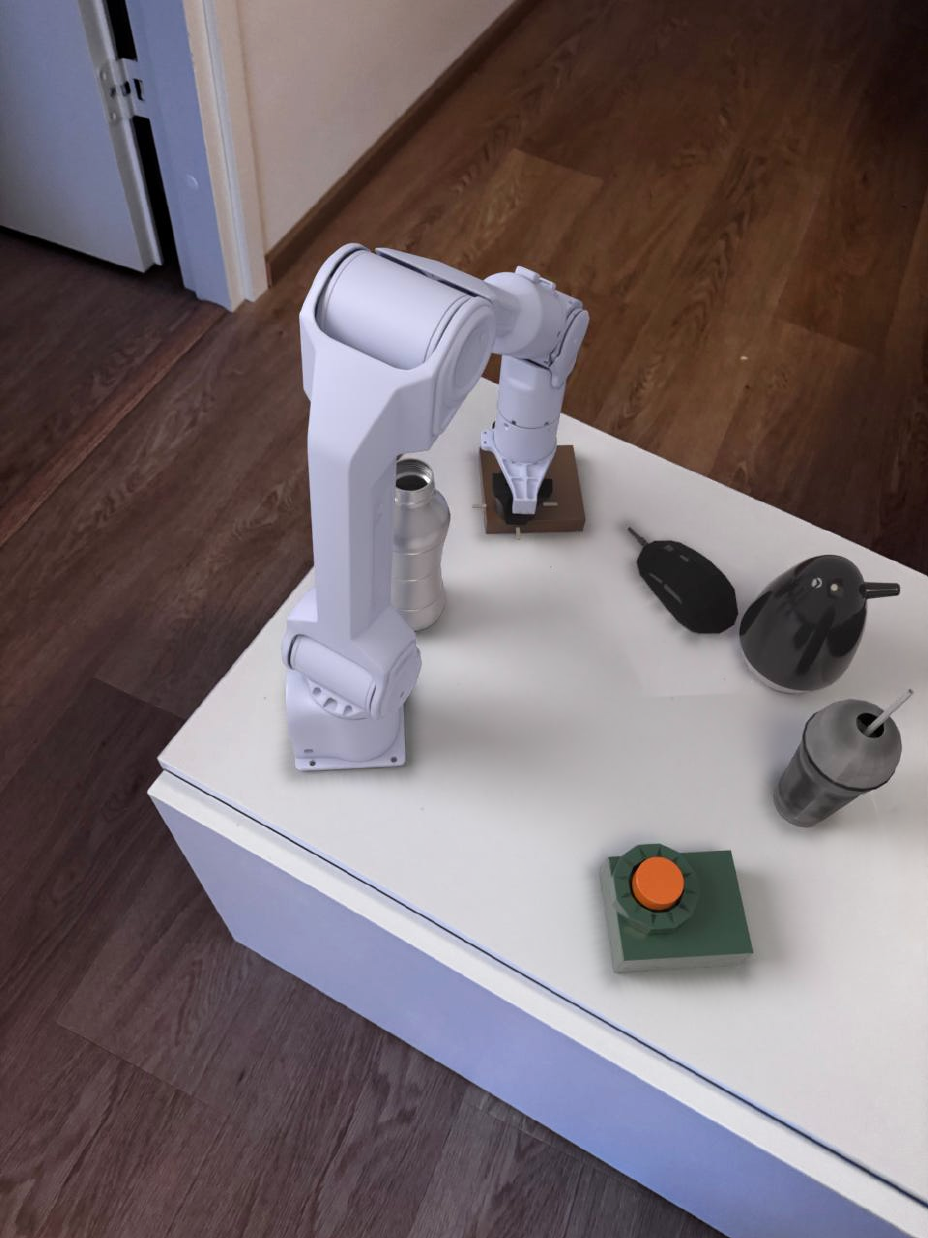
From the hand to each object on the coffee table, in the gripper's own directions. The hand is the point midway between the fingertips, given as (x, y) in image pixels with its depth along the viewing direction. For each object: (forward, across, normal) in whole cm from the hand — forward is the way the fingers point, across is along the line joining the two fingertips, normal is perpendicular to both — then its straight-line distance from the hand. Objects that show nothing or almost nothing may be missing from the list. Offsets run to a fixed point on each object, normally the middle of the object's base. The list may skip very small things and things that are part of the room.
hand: (515, 502), depth 97 cm
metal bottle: (+3, +12, -10) cm, 16 cm away
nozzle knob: (0, 0, 0) cm, 0 cm away
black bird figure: (+3, +16, +25) cm, 30 cm away
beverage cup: (+3, +30, +25) cm, 39 cm away
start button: (-3, +40, +10) cm, 41 cm away
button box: (+2, +40, +12) cm, 42 cm away
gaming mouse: (+3, +7, +16) cm, 18 cm away
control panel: (+3, -2, +1) cm, 3 cm away
